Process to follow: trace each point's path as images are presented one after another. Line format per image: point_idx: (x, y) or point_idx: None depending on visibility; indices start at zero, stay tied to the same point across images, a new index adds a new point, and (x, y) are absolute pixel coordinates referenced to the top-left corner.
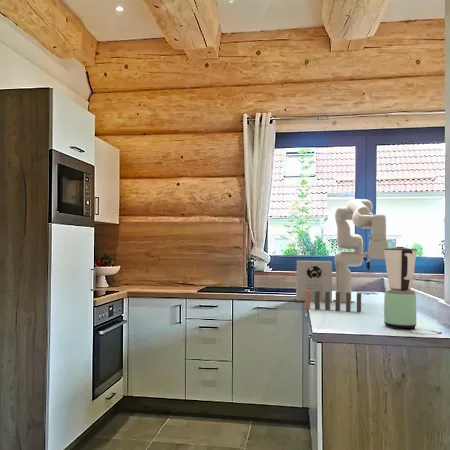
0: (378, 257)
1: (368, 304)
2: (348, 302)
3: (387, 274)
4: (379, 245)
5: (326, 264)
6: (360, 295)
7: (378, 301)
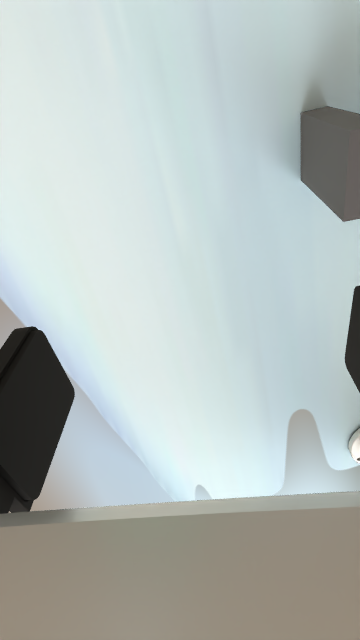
0: (151, 576)
1: (284, 419)
2: None
3: None
4: None
5: None
6: (345, 126)
7: (257, 489)
